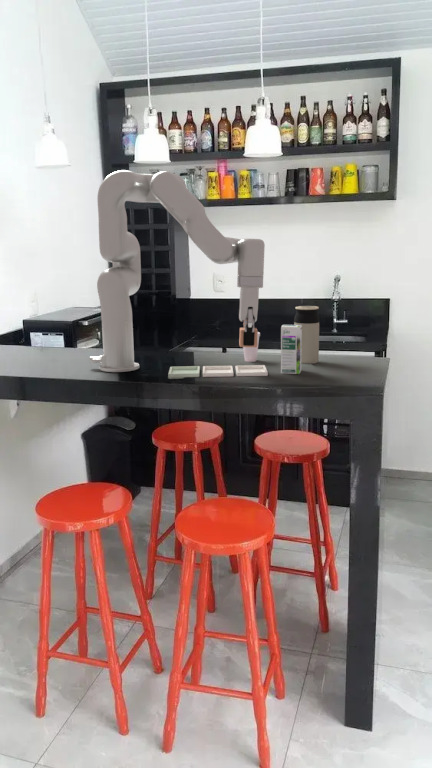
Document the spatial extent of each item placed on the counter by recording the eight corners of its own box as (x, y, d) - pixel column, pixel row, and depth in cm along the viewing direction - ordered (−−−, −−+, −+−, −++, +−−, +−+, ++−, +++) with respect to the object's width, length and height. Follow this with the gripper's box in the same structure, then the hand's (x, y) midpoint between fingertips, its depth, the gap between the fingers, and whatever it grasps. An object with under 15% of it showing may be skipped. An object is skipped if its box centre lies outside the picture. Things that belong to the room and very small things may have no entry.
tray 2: (202, 378, 189) (202, 373, 189) (203, 370, 200) (202, 366, 200) (233, 377, 189) (233, 372, 189) (232, 370, 200) (232, 365, 200)
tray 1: (168, 378, 189) (168, 373, 189) (170, 371, 200) (170, 366, 199) (199, 378, 189) (199, 373, 189) (199, 370, 200) (199, 366, 200)
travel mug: (314, 359, 216) (315, 305, 212) (321, 364, 208) (322, 307, 204) (290, 360, 215) (291, 306, 211) (297, 365, 207) (298, 308, 203)
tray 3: (236, 377, 189) (236, 372, 189) (235, 370, 200) (235, 365, 200) (267, 377, 189) (267, 372, 189) (264, 369, 200) (264, 365, 200)
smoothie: (258, 364, 209) (258, 320, 206) (239, 363, 211) (239, 320, 208) (261, 360, 216) (261, 318, 213) (242, 360, 217) (242, 318, 214)
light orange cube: (240, 347, 190) (240, 330, 189) (239, 344, 195) (239, 327, 194) (257, 347, 191) (257, 330, 189) (255, 344, 196) (256, 328, 194)
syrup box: (280, 374, 193) (280, 326, 189) (282, 371, 198) (283, 323, 195) (299, 375, 191) (300, 326, 188) (301, 371, 197) (302, 324, 194)
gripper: (236, 279, 197) (234, 338, 201) (238, 284, 180) (236, 348, 184) (260, 280, 197) (258, 339, 201) (265, 284, 180) (262, 349, 185)
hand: (248, 343), depth 193 cm, fingers closed on light orange cube, 5 cm apart
